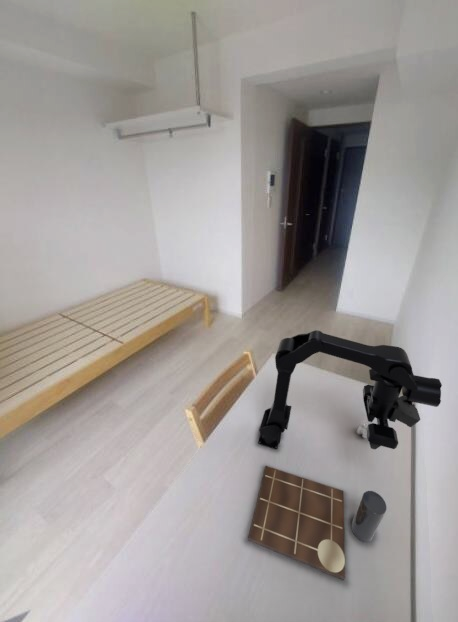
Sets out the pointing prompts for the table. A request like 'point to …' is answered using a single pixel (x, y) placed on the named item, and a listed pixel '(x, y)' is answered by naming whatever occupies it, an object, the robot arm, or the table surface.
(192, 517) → the table surface
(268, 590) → the table surface
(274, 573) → the table surface
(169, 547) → the table surface
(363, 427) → the metal grooved wheel
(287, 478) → the board
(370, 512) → the dark grey cylinder
